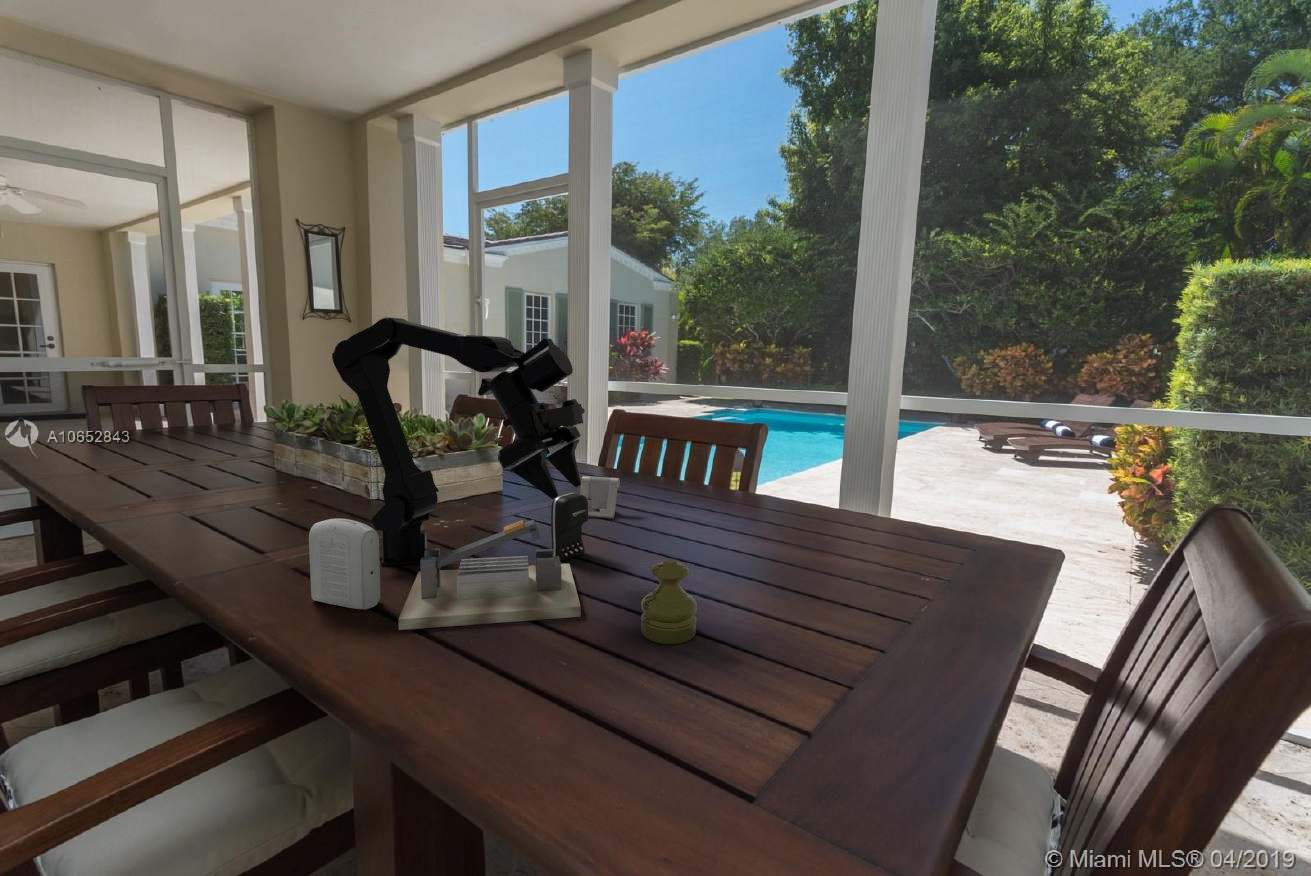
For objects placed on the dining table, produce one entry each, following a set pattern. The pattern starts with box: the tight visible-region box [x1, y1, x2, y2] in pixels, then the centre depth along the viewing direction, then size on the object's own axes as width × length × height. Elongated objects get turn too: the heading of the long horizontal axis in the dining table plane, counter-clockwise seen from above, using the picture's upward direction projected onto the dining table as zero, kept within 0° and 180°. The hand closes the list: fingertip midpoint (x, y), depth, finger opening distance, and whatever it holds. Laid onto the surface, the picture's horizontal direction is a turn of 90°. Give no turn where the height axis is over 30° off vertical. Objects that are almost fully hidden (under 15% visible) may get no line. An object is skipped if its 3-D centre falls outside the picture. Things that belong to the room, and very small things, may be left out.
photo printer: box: [308, 518, 381, 610], centre depth 89 cm, size 10×4×12 cm, turn 72°
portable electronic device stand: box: [579, 475, 621, 519], centre depth 141 cm, size 9×8×8 cm
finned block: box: [457, 555, 529, 601], centre depth 92 cm, size 10×8×4 cm
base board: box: [398, 563, 582, 631], centre depth 92 cm, size 24×18×2 cm
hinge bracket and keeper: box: [419, 547, 562, 599], centre depth 92 cm, size 20×5×6 cm, turn 103°
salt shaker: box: [640, 559, 698, 645], centre depth 81 cm, size 7×7×10 cm
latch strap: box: [436, 519, 541, 569], centre depth 91 cm, size 17×2×3 cm, turn 103°
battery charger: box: [550, 492, 589, 561], centre depth 111 cm, size 7×4×11 cm, turn 148°
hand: (567, 491), depth 98 cm, fingers open, 9 cm apart
